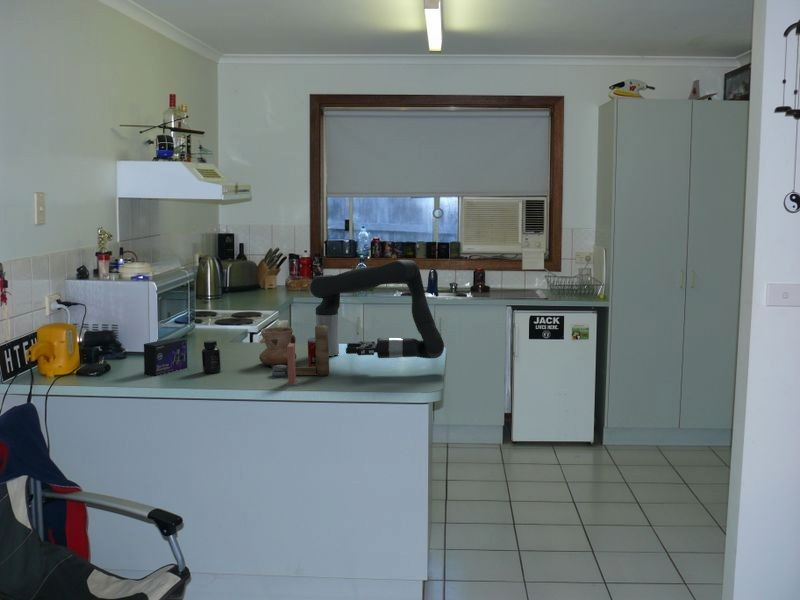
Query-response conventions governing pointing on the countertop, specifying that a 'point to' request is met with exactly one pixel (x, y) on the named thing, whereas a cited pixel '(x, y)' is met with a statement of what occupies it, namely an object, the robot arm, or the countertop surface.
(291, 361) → the block
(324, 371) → the brown l-shaped piece
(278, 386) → the countertop surface
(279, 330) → the ceramic jug
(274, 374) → the pivot disc
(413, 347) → the robot arm
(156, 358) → the box
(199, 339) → the countertop surface
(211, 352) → the supplement bottle
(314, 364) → the canned food
